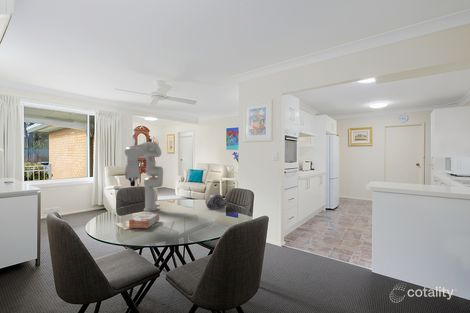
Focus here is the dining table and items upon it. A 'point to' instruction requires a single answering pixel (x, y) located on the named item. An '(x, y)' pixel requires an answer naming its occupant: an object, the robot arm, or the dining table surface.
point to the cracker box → (143, 220)
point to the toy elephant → (215, 201)
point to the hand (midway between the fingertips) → (132, 186)
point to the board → (123, 225)
